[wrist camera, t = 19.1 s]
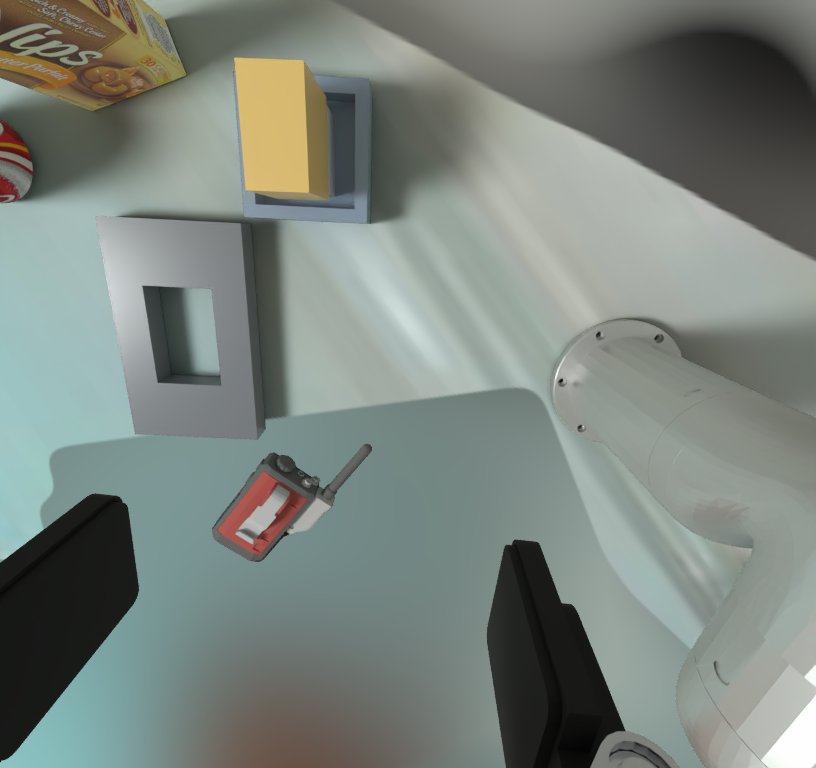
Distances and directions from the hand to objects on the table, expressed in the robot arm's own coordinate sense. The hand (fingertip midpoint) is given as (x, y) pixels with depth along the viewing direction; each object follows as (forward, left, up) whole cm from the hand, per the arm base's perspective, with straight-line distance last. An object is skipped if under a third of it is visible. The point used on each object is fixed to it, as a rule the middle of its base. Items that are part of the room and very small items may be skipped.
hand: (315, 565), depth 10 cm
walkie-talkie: (+10, +19, -32) cm, 39 cm away
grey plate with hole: (+18, +2, -32) cm, 37 cm away
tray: (+7, -13, -32) cm, 35 cm away
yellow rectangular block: (+7, -13, -31) cm, 34 cm away
